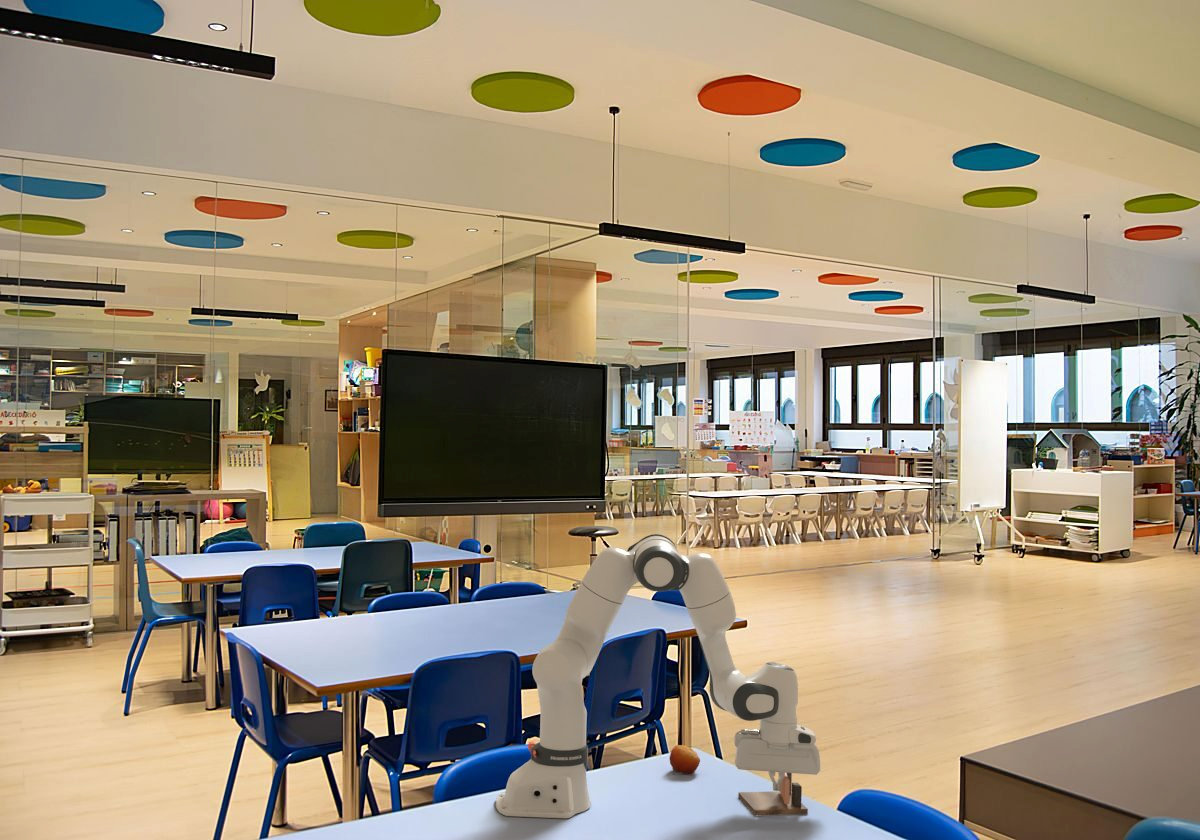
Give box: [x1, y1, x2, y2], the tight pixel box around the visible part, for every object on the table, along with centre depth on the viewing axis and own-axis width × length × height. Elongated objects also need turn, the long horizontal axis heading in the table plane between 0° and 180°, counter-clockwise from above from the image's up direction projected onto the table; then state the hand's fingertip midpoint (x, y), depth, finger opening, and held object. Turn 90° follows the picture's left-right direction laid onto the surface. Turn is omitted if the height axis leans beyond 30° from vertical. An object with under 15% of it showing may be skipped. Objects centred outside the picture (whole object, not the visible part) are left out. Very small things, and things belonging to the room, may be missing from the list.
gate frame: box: [738, 773, 809, 816], centre depth 232 cm, size 13×13×8 cm
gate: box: [780, 773, 790, 804], centre depth 233 cm, size 11×2×6 cm, turn 176°
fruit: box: [669, 744, 701, 775], centre depth 256 cm, size 8×8×8 cm
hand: (776, 790), depth 231 cm, fingers closed
